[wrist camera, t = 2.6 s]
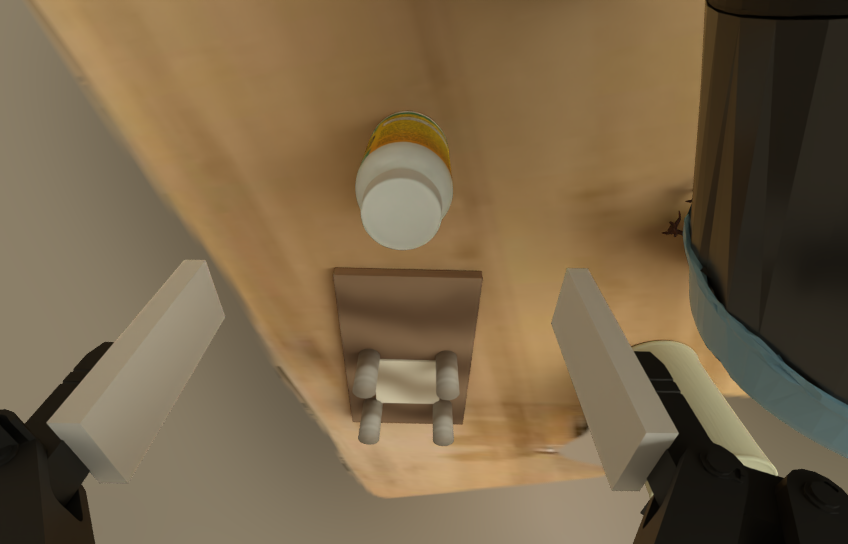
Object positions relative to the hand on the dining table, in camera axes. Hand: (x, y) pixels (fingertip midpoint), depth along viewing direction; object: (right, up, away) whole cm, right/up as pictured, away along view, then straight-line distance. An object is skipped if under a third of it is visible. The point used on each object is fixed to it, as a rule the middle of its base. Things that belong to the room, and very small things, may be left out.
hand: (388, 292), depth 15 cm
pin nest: (0, -7, +24) cm, 25 cm away
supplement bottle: (0, +9, +12) cm, 16 cm away
